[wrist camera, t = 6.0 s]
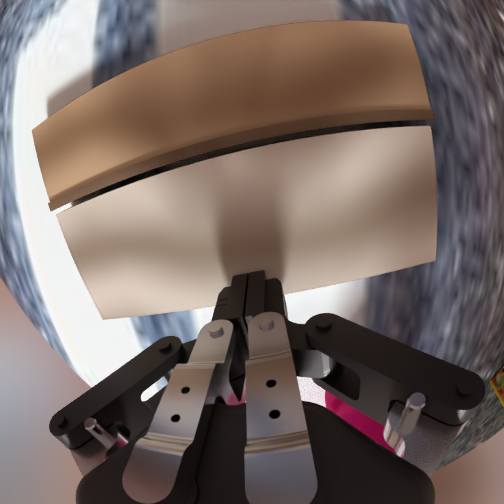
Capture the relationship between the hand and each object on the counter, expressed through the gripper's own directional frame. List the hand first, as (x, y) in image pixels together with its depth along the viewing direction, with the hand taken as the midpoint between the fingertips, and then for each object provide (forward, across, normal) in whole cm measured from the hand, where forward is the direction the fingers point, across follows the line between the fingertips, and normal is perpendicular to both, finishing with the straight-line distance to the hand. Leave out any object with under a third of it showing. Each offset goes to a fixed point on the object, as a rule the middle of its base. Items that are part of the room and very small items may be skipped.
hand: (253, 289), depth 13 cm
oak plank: (+1, 0, -9) cm, 9 cm away
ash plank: (+1, 0, -3) cm, 3 cm away
